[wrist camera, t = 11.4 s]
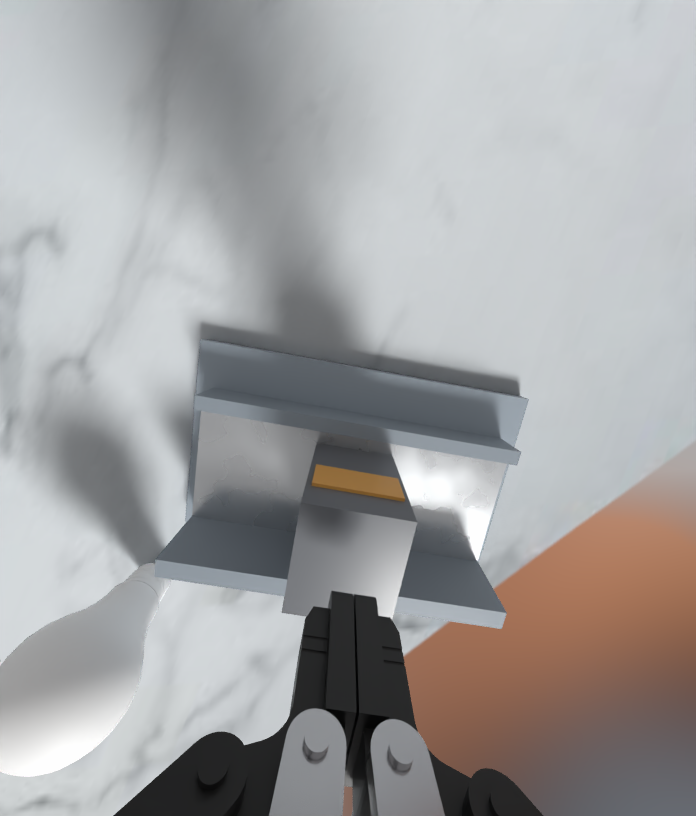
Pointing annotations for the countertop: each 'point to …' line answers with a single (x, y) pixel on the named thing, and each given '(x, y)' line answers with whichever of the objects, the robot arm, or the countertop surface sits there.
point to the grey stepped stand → (355, 417)
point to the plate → (289, 467)
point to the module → (350, 531)
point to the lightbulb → (75, 678)
